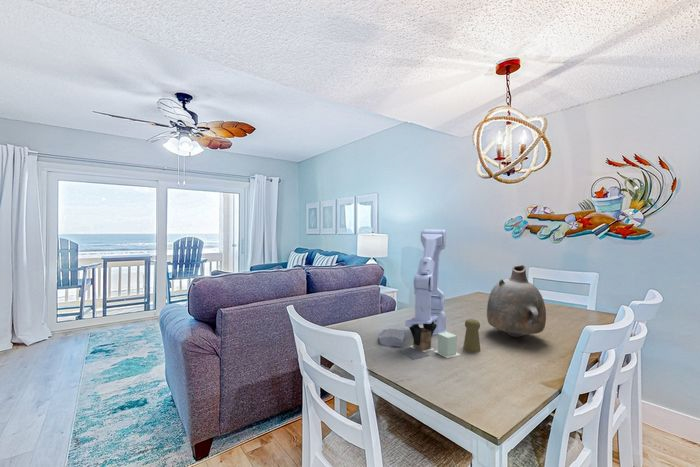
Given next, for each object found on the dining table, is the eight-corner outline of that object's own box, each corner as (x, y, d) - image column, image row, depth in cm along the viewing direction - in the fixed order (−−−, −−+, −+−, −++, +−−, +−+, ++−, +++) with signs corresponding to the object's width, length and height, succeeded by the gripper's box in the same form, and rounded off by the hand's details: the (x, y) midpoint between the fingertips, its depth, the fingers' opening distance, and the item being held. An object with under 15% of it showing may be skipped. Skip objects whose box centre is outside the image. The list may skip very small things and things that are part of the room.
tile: (446, 348, 113) (446, 348, 113) (460, 355, 108) (460, 354, 108) (433, 351, 110) (433, 351, 110) (447, 358, 104) (447, 358, 104)
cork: (480, 347, 115) (480, 318, 114) (481, 353, 109) (482, 323, 109) (462, 345, 117) (463, 316, 116) (463, 351, 111) (464, 321, 111)
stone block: (379, 350, 115) (405, 347, 113) (376, 338, 115) (403, 335, 113) (382, 340, 127) (406, 337, 125) (379, 329, 127) (403, 326, 125)
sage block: (446, 349, 112) (447, 331, 112) (456, 354, 108) (456, 335, 108) (437, 351, 110) (438, 333, 110) (447, 356, 106) (447, 337, 106)
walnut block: (422, 344, 116) (422, 327, 116) (430, 348, 112) (431, 331, 112) (413, 346, 114) (413, 329, 114) (421, 351, 110) (421, 333, 110)
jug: (472, 331, 132) (474, 262, 132) (504, 324, 142) (506, 260, 141) (527, 352, 111) (529, 270, 110) (561, 343, 120) (563, 267, 120)
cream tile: (422, 343, 117) (422, 343, 117) (434, 349, 112) (434, 349, 112) (409, 346, 114) (409, 346, 114) (421, 353, 109) (421, 352, 109)
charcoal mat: (415, 348, 112) (415, 347, 112) (429, 356, 106) (429, 355, 106) (400, 352, 109) (400, 351, 109) (413, 360, 103) (413, 358, 103)
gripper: (414, 312, 106) (413, 350, 106) (445, 307, 113) (444, 343, 113) (402, 307, 112) (401, 343, 112) (431, 303, 119) (430, 337, 119)
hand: (422, 343), depth 113 cm, fingers closed on walnut block, 4 cm apart
